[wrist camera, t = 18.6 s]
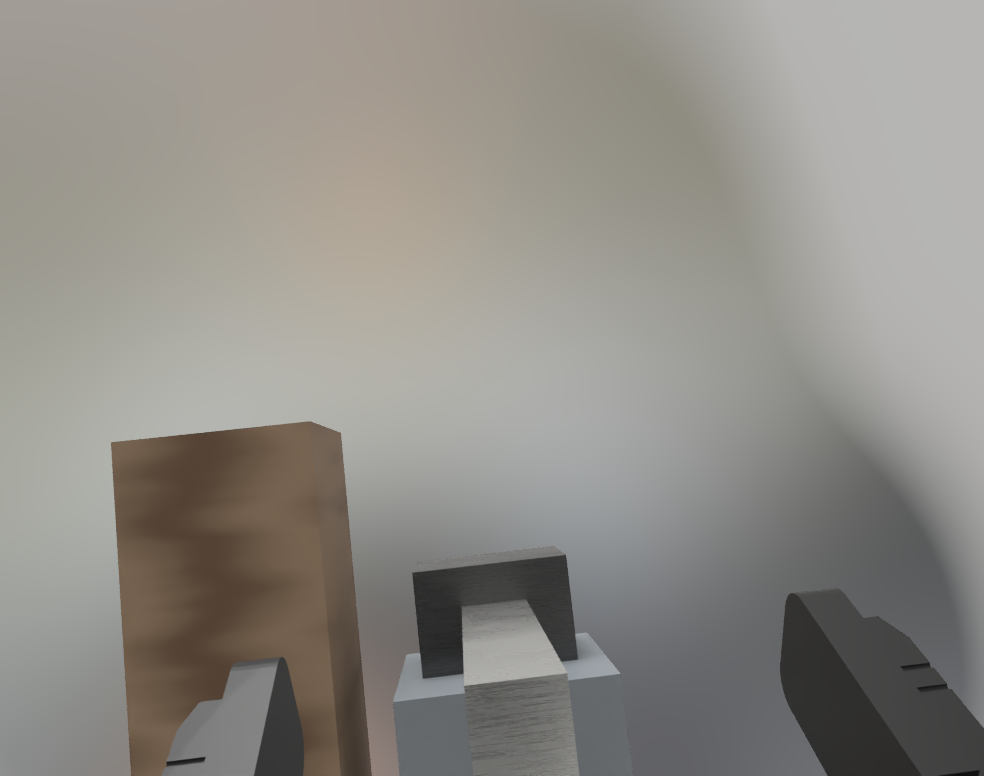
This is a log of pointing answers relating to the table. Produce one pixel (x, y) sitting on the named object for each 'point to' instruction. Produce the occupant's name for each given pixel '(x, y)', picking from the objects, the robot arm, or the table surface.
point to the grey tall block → (444, 724)
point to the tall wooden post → (238, 583)
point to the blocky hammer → (504, 654)
